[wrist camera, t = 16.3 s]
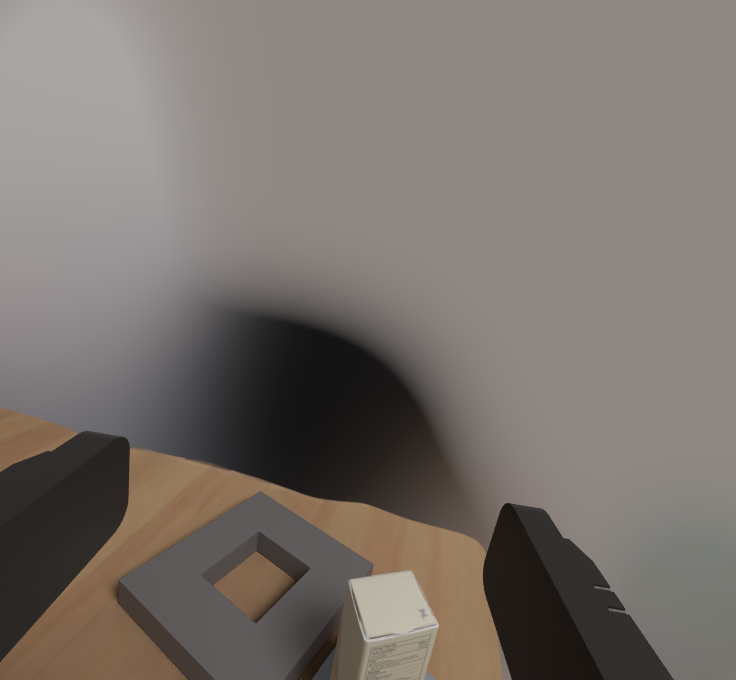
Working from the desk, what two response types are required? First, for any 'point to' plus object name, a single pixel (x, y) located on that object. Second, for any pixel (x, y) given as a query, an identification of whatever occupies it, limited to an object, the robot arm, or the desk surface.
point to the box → (384, 630)
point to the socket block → (221, 617)
